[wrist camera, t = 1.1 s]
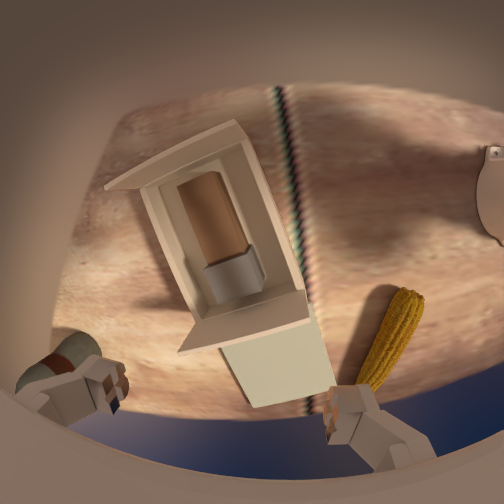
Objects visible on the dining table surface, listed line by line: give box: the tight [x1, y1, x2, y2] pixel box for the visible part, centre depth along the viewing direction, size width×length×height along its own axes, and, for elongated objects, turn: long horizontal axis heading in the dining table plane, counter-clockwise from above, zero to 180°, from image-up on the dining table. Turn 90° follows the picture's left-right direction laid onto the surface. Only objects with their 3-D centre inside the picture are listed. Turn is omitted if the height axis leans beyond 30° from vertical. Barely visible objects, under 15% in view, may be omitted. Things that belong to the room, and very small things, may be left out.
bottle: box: [15, 332, 102, 394], centre depth 35 cm, size 9×9×30 cm
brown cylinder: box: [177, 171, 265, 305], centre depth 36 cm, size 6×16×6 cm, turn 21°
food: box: [356, 287, 425, 393], centre depth 38 cm, size 21×6×6 cm, turn 168°
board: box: [221, 300, 337, 408], centre depth 43 cm, size 16×18×1 cm
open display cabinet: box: [104, 118, 311, 357], centre depth 33 cm, size 16×22×13 cm
